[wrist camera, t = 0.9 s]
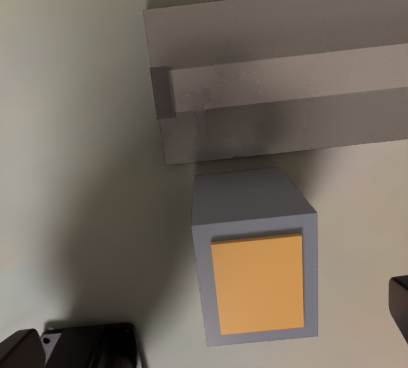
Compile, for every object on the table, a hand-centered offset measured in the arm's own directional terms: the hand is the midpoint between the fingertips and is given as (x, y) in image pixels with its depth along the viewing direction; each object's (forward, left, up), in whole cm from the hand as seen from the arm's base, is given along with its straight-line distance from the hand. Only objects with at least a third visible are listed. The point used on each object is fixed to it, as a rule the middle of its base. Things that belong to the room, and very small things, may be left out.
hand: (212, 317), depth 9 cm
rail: (+5, -8, -12) cm, 15 cm away
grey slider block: (-3, -2, -12) cm, 13 cm away
